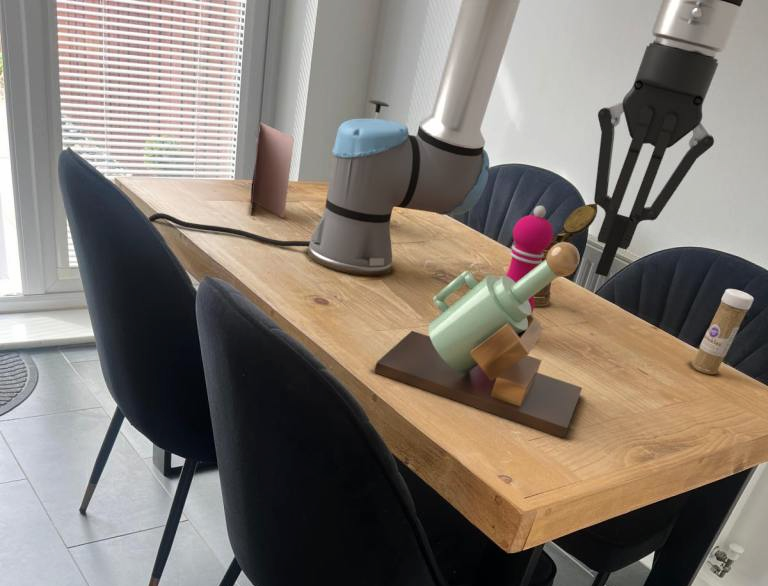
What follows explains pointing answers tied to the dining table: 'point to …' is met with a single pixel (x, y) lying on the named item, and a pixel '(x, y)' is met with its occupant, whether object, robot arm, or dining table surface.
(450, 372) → the walnut board
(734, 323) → the sprinkles bottle
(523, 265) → the pepper mill
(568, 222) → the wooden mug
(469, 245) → the dining table surface
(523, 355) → the oak rest
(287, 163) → the greeting card
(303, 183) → the dining table surface
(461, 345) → the jug
